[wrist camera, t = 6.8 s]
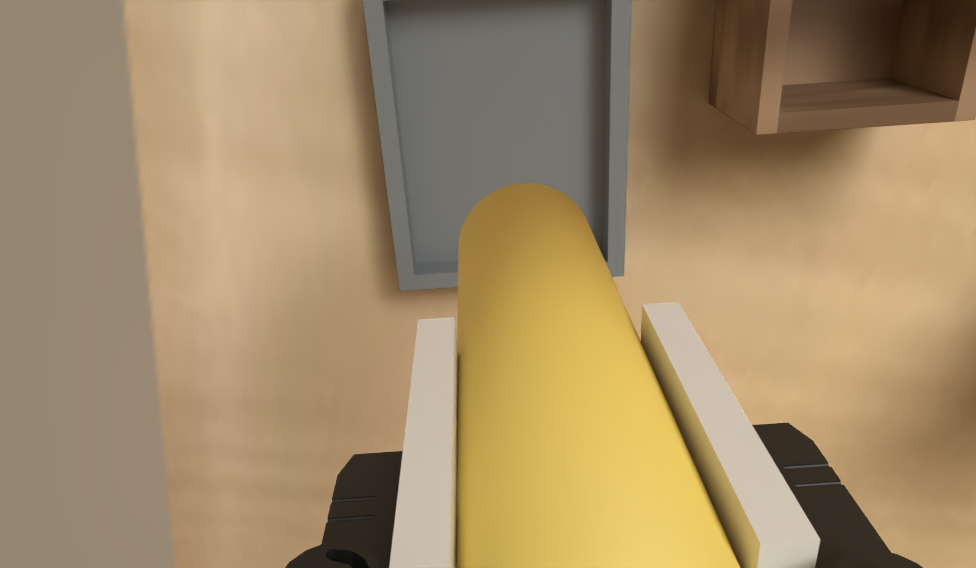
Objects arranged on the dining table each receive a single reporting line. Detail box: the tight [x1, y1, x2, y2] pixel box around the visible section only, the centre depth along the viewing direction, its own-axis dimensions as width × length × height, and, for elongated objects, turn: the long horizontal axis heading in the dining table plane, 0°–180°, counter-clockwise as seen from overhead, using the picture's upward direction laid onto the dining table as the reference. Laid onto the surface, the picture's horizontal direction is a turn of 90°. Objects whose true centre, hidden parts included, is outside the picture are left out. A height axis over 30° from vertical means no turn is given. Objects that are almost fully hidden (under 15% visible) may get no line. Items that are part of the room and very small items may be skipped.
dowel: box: [456, 183, 741, 568], centre depth 15 cm, size 4×4×15 cm
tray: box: [363, 0, 631, 291], centre depth 33 cm, size 14×11×2 cm
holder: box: [709, 0, 976, 135], centre depth 29 cm, size 9×9×6 cm
